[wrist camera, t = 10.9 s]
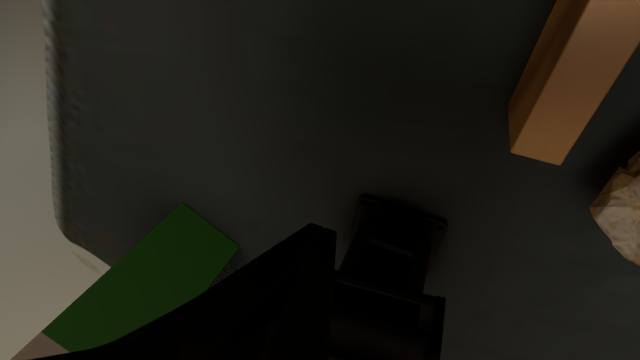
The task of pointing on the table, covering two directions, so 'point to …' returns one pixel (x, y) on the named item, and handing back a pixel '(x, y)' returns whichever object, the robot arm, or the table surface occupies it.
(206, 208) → the table surface
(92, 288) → the hardback book
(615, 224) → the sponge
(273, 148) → the table surface
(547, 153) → the back rail
